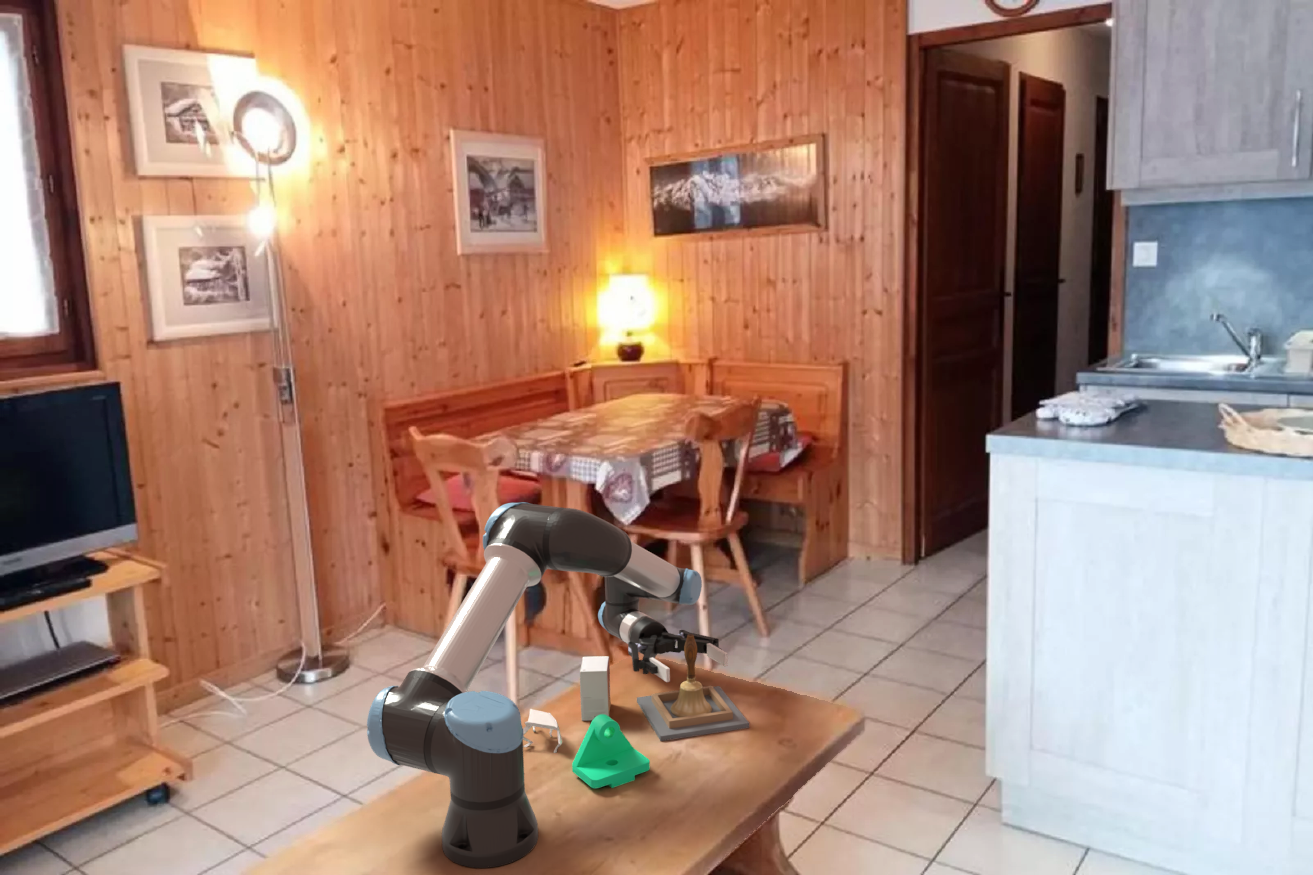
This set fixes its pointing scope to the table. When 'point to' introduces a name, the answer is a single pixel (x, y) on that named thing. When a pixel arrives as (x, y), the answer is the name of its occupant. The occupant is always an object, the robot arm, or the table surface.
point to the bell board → (676, 727)
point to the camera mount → (607, 756)
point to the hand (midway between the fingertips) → (697, 667)
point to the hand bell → (690, 687)
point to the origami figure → (541, 725)
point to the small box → (595, 687)
